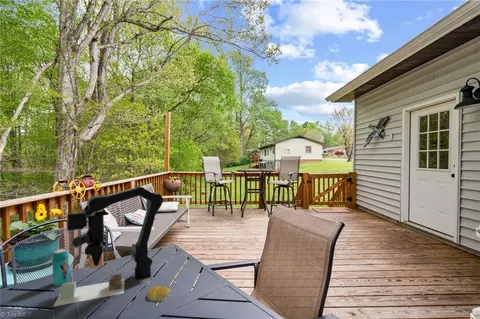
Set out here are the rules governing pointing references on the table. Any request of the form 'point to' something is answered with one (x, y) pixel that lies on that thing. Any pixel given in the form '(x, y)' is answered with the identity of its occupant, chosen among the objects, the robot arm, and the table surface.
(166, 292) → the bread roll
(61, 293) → the sage block
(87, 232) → the robot arm
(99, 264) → the terracotta block
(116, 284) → the walnut block
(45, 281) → the table surface
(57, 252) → the beverage can
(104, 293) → the white mat
